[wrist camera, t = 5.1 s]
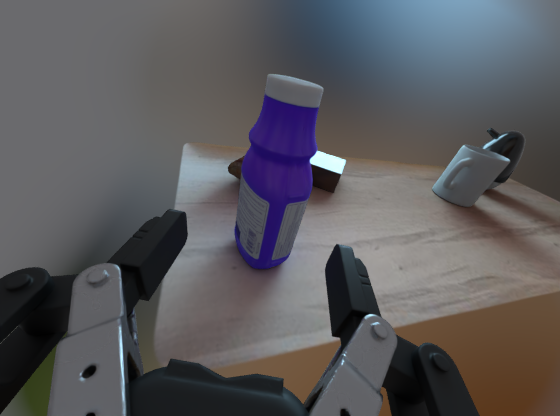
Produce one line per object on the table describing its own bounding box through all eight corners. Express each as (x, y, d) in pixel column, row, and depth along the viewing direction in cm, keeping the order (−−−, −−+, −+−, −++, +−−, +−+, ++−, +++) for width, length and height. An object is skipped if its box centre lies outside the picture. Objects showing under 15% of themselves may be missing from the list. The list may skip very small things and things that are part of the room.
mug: (443, 185, 55) (474, 144, 49) (478, 205, 49) (518, 161, 43) (416, 189, 49) (446, 143, 43) (451, 211, 44) (493, 162, 37)
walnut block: (298, 180, 41) (304, 161, 39) (309, 166, 47) (314, 149, 45) (333, 193, 40) (341, 174, 37) (339, 177, 46) (346, 160, 44)
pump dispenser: (452, 172, 66) (489, 122, 58) (491, 187, 62) (537, 135, 54) (452, 181, 59) (494, 126, 50) (496, 198, 55) (551, 141, 46)
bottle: (296, 266, 24) (360, 96, 14) (249, 282, 21) (287, 83, 11) (268, 225, 29) (301, 76, 19) (227, 233, 26) (239, 64, 16)
